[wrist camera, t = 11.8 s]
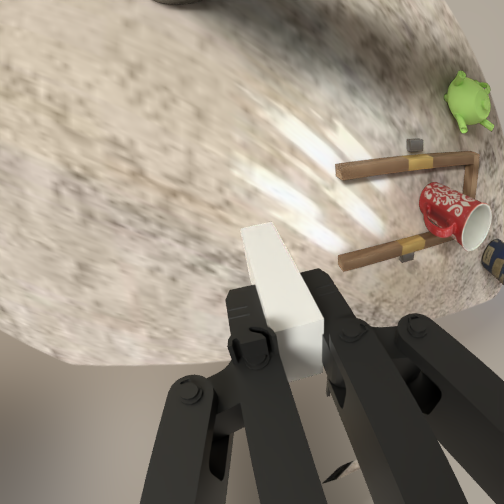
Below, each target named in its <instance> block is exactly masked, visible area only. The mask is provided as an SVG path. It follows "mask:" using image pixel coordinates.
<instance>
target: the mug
mask: <svg viewBox="0 0 504 504" xmlns="http://www.w3.org/2000/svg"><path fill="white" fill-rule="evenodd" d="M419 207H420V210H421V212H422V213H423V214H424V222H425V225H426V227H427V229H428V230H429V231H430V232H431V233H432V234H434V235H435V236H438V237H441V238H447V237H449V236H451V237H452V238H453V239H455V240H456V241H457V242H458V243H459V244H460V245H462V247H463V248H464V249H465V250H466V251H473V250H475V249H476V248H477V247H479V246H480V245H481V243H482V242H483V241H484V239H485V238H486V236H487V234H488V231H489V229H490V225H491V219H492V213H491V209H490V207H489V205H488V204H486V203H481V202H479V201H477V200H475V199H473V198H471V197H469V196H467V195H464V194H462V193H460V192H458V191H456V190H453V189H451V188H449V187H446V186H444V185H442V184H440V183H437V182H432V183H430V184H428V185H427V186H426V187H425V188H424V190H423V191H422V193H421V196H420V200H419ZM429 219H430V220H431V221H433V222H434V223H435V224H436V225H438V226H439V227H438V226H436V225H434V224H433V223H432V222H431V221H430V220H429Z"/></svg>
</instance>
